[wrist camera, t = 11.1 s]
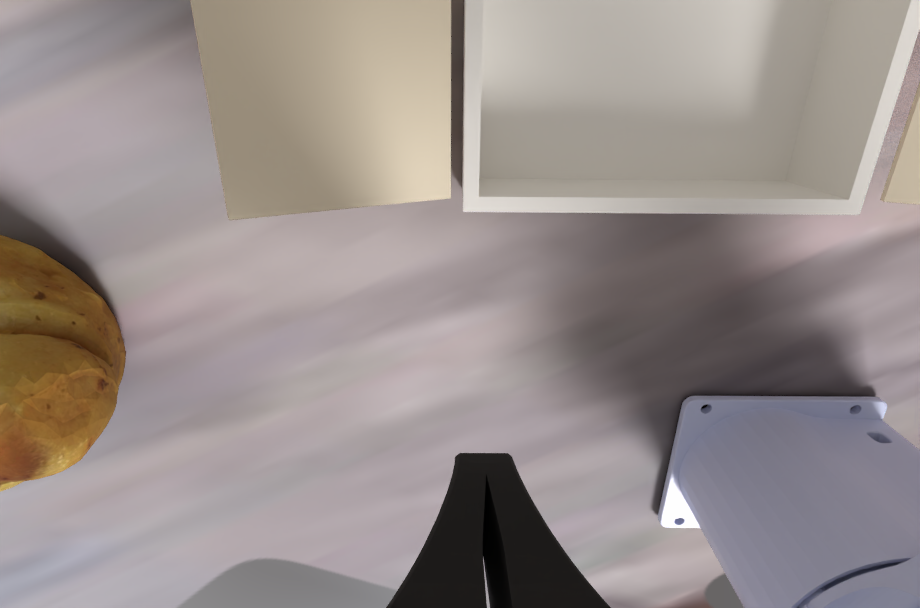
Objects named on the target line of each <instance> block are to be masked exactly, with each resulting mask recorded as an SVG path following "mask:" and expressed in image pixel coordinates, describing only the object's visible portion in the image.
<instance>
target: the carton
mask: <svg viewBox="0 0 920 608" xmlns="http://www.w3.org/2000/svg"><path fill="white" fill-rule="evenodd" d="M919 29H920V0H464V70H463V167H462V195H463V212H540V213H668V214H795V215H860V212H861V209H862V206H863V203H864V199H865V196H866V193H867V190H868V187H869V184H870V181H871V178H872V175H873V172H874V169H875V165H876V162H877V159H878V156H879V153H880V150H881V147H882V144H883V141H884V138H885V135H886V131H887V128H888V125H889V122H890V119H891V116H892V113H893V110H894V107H895V104H896V101H897V97H898V94H899V91H900V88H901V85H902V82H903V79H904V76H905V73H906V70H907V67H908V63H909V60H910V57H911V54H912V51H913V48H914V45H915V42H916V39H917V36H918V33H919Z"/></svg>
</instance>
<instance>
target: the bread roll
mask: <svg viewBox="0 0 920 608" xmlns="http://www.w3.org/2000/svg"><path fill="white" fill-rule="evenodd" d="M125 356H126V351H125V346H124V342H123V339H122V335H121V331H120V328H119V326H118V324H117V321H116V319H115V316H114V315H113V314H112V312H111V311H110V309H109V308H108V306H107V304H106V302H105V301H104V300H103V298H102V297H101V296H100V295H98V294H97V293H96V292H95V291H93V289H92V288H91V287H90V286H89V285H88V284H86V283H85V282H84V281H83V280H81V279H80V278H79V277H78V276H77V275H76V274H74V273H73V272H72V271H71V270H69V269H68V268H66V267H65V266H63V265H62V264H60V263H59V262H57V261H56V260H54V259H52V258H51V257H49V256H48V255H47V254H45V253H44V252H43V251H42V250H40V249H38V248H36V247H33V246H31V245H28V244H26V243H23V242H20V241H18V240H15V239H12V238H9V237H6V236H2V235H0V491H3V490H6V489H9V488H12V487H14V486H16V485H18V484H20V483H21V482H23V481H27V480H34V479H39V478H43V477H47V476H50V475H54V474H56V473H59V472H61V471H64V470H65V469H67V468H69V467H70V466H72V465H74V464H75V463H77V462H78V461H80V460H81V459H82V458H83V456H84V455H85V454H86V453H87V451H88V450H89V449H90V447H91V446H92V445H93V444H94V442H95V441H96V440H97V438H98V437H99V436H100V434H101V433H102V432H103V430H104V429H105V427H106V426H107V424H108V422H109V420H110V418H111V417H112V415H113V412H114V410H115V407H116V403H117V394H118V389H119V388H118V387H119V385H120V382H121V380H122V376H123V372H124V367H125Z"/></svg>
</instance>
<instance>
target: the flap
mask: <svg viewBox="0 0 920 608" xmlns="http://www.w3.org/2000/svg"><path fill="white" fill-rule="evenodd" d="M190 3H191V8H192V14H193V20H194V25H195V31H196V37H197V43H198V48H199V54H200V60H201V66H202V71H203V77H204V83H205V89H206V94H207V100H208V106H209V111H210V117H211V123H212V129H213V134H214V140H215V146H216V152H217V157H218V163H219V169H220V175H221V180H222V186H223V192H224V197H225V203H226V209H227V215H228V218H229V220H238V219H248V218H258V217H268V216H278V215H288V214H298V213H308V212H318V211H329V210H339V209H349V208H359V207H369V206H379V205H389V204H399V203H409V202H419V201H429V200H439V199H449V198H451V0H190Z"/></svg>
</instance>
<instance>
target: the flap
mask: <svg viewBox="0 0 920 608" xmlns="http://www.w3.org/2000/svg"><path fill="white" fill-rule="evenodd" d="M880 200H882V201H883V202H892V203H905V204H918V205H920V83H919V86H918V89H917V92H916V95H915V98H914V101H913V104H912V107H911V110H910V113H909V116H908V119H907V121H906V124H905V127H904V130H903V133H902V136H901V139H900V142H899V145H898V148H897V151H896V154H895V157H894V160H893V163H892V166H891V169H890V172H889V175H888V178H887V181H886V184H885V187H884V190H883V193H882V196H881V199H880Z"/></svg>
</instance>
